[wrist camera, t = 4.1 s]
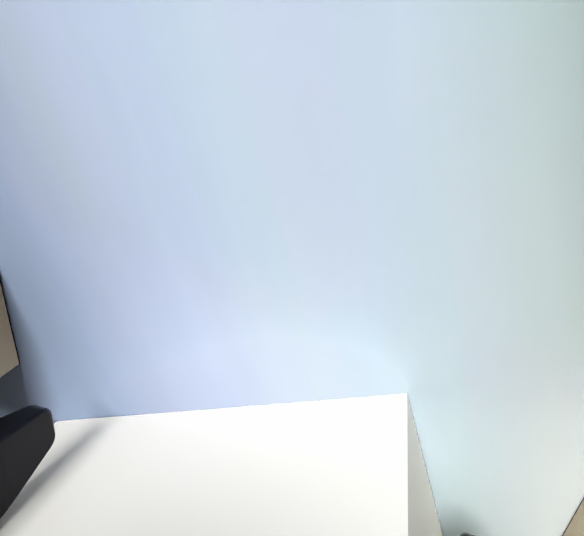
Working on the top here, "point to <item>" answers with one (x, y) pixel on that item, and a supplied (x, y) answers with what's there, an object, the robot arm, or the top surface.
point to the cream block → (234, 474)
